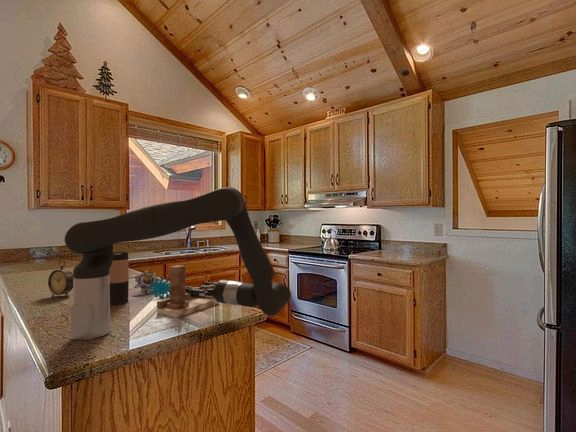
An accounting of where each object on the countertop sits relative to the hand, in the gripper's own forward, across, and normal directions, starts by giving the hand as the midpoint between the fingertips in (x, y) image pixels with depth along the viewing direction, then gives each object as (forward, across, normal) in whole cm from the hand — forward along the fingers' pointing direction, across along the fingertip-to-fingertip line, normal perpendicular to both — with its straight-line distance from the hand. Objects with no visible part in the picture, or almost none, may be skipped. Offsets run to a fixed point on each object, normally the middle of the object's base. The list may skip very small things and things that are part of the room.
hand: (195, 287), depth 111 cm
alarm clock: (+74, +8, +10) cm, 75 cm away
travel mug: (+41, +2, +10) cm, 43 cm away
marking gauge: (+9, 0, +8) cm, 12 cm away
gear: (+33, -13, +10) cm, 37 cm away
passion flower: (+48, -16, +10) cm, 51 cm away
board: (+9, -6, +10) cm, 15 cm away
